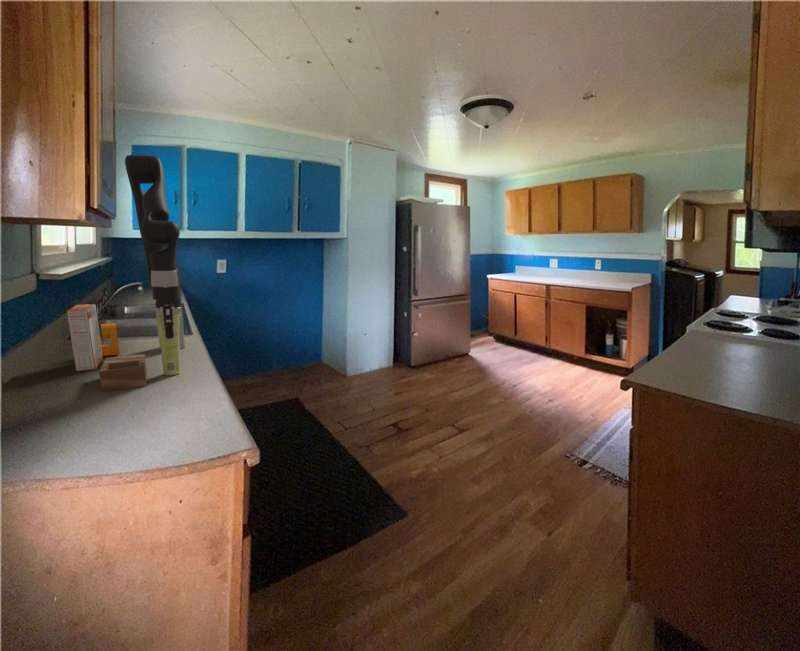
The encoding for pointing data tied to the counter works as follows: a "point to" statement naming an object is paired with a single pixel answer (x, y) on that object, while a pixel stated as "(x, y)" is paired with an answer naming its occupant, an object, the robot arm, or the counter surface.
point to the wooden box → (123, 372)
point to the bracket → (111, 333)
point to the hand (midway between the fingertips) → (169, 336)
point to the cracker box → (85, 336)
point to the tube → (169, 347)
